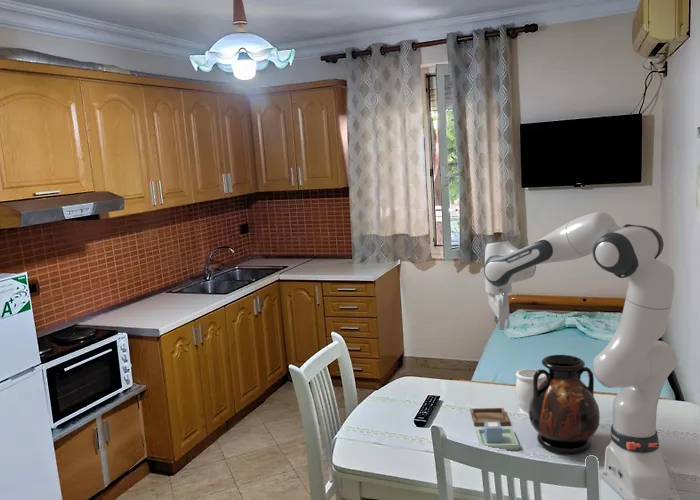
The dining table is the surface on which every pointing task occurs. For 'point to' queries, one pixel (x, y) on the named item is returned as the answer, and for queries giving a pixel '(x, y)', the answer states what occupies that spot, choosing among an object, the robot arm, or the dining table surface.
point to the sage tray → (507, 439)
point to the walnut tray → (489, 416)
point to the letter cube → (493, 432)
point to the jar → (526, 388)
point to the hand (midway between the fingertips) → (499, 325)
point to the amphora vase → (564, 406)
